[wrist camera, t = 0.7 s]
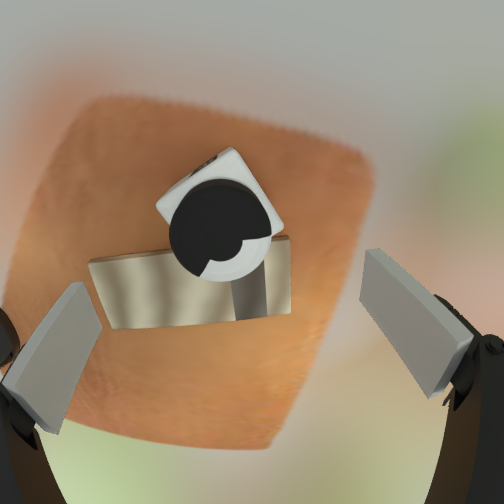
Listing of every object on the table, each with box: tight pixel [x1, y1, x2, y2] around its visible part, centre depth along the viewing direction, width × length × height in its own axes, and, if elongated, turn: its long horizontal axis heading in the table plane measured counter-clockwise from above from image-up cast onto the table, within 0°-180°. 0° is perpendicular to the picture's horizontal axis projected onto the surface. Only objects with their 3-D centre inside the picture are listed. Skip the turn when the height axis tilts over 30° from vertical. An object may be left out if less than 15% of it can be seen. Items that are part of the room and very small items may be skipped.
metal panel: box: [88, 236, 291, 329], centre depth 31 cm, size 24×10×1 cm, turn 94°
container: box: [156, 147, 284, 282], centre depth 22 cm, size 8×8×13 cm
